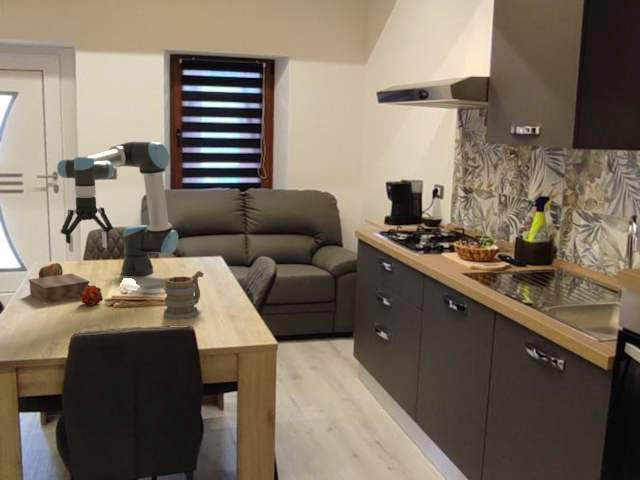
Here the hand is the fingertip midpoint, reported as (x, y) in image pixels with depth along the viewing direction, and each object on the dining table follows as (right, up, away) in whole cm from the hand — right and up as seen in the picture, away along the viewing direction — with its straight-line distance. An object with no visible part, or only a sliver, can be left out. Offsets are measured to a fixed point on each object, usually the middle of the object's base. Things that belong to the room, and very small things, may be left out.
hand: (88, 249), depth 261 cm
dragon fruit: (0, -23, +4) cm, 23 cm away
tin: (-31, -16, +39) cm, 52 cm away
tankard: (+41, -25, -4) cm, 48 cm away
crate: (-18, -20, +17) cm, 32 cm away
